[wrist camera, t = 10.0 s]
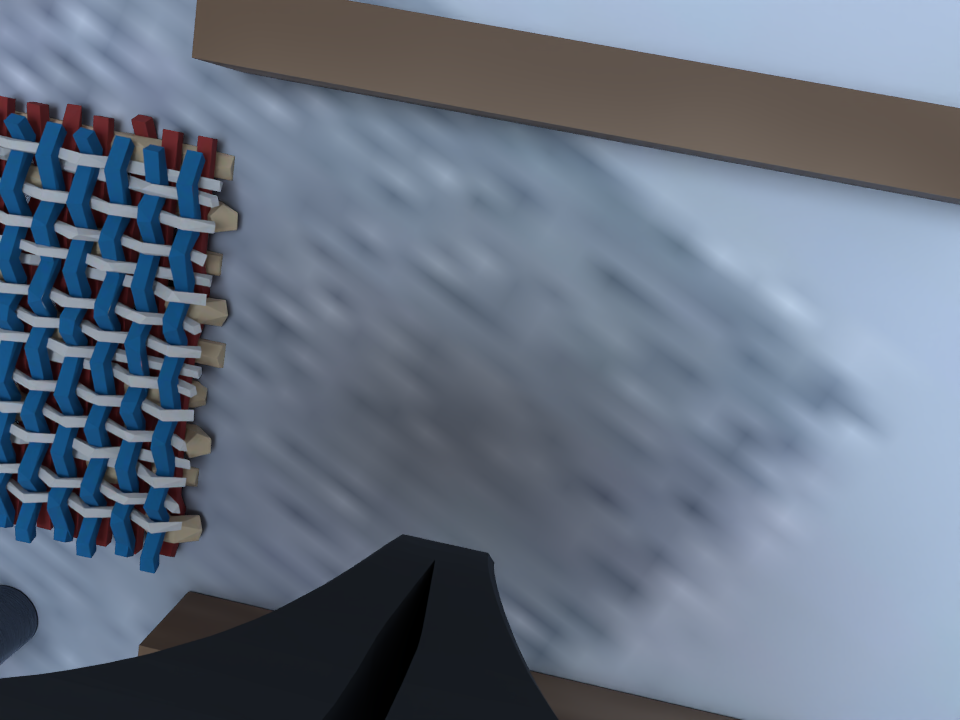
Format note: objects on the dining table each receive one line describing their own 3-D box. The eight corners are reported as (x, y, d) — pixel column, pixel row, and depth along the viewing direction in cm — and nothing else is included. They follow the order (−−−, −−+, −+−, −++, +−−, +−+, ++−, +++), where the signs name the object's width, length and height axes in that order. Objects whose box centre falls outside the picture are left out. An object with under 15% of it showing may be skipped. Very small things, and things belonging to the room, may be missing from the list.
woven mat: (263, 138, 19) (226, 134, 17) (213, 548, 22) (176, 586, 20) (-152, 54, 20) (-233, 42, 18) (-153, 461, 22) (-224, 489, 20)
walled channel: (791, 786, 21) (819, 867, 18) (183, 641, 22) (134, 700, 19) (1004, 134, 17) (1076, 129, 14) (251, 0, 18) (199, -27, 15)
